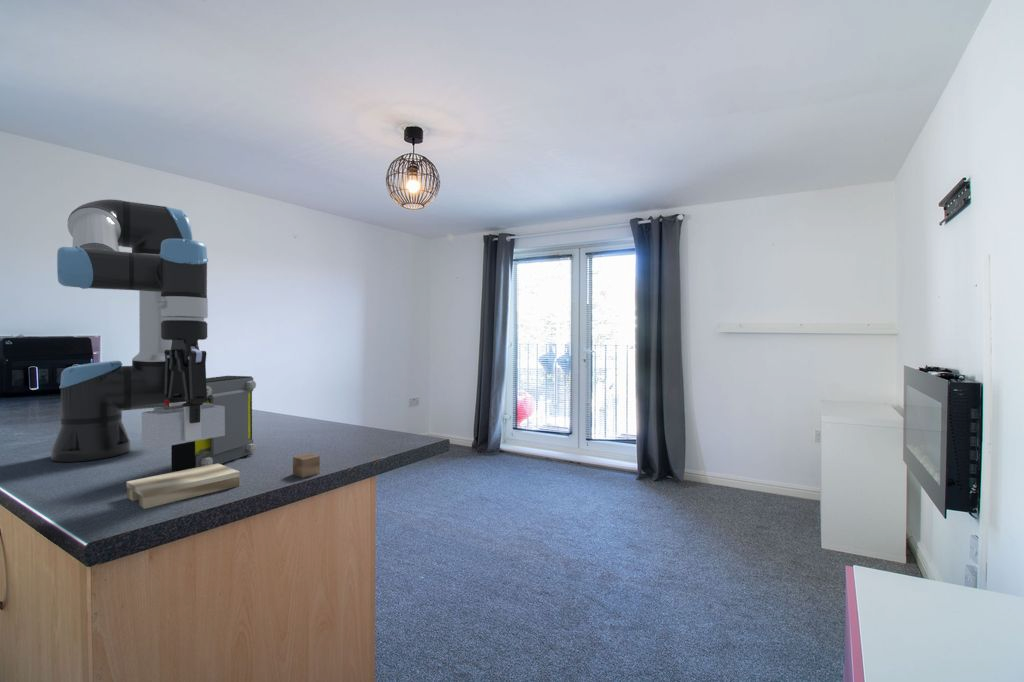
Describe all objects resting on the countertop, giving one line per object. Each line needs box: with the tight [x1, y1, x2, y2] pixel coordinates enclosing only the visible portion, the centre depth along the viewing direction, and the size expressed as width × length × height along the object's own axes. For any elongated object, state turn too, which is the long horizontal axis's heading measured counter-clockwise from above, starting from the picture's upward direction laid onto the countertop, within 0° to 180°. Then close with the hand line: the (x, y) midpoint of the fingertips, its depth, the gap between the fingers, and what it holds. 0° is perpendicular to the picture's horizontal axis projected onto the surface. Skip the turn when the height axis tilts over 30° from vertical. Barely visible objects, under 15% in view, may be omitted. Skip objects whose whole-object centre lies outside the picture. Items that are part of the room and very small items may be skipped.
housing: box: [141, 403, 225, 448], centre depth 94 cm, size 12×6×7 cm, turn 152°
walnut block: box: [292, 452, 321, 478], centre depth 107 cm, size 4×4×4 cm
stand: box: [126, 463, 241, 510], centre depth 94 cm, size 10×16×3 cm, turn 144°
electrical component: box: [165, 375, 257, 472], centre depth 116 cm, size 18×10×20 cm, turn 168°
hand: (185, 436), depth 94 cm, fingers closed on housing, 6 cm apart
